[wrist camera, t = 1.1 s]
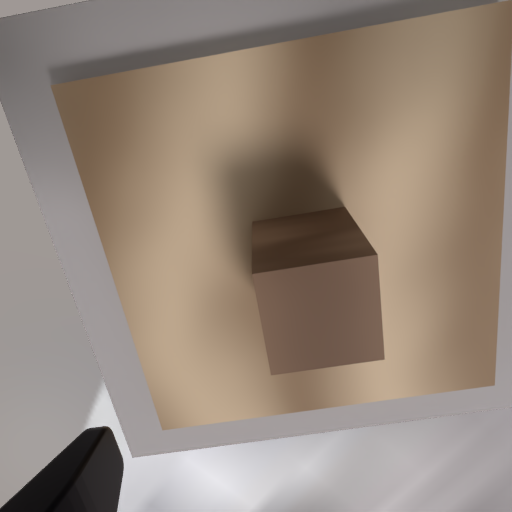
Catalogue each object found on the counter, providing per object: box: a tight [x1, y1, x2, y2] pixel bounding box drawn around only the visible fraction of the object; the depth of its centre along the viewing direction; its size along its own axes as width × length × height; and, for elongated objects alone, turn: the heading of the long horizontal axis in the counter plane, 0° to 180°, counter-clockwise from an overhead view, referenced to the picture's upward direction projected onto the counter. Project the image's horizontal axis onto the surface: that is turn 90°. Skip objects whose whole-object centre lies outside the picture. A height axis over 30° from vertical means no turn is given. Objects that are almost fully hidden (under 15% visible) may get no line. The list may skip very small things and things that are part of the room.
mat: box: [0, 0, 512, 458], centre depth 16 cm, size 17×17×1 cm
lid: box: [50, 0, 512, 430], centre depth 13 cm, size 13×13×5 cm
